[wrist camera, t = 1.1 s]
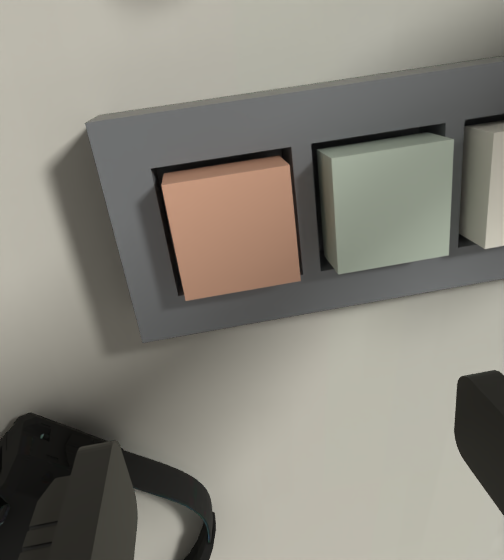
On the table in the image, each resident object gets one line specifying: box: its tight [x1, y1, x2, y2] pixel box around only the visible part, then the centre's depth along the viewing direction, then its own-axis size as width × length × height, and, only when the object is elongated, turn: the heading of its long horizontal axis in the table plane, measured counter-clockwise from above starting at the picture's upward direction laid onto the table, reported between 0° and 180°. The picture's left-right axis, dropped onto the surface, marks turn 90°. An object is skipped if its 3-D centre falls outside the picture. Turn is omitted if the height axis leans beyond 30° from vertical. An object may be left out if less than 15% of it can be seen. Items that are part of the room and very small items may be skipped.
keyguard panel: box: [85, 56, 504, 343], centre depth 27 cm, size 28×12×4 cm, turn 97°
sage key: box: [317, 132, 454, 274], centre depth 25 cm, size 6×6×3 cm
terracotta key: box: [161, 155, 301, 301], centre depth 25 cm, size 6×6×3 cm
